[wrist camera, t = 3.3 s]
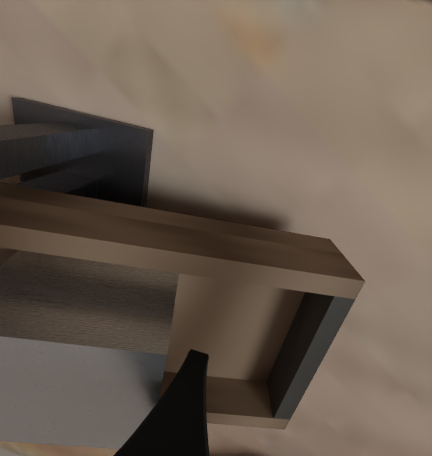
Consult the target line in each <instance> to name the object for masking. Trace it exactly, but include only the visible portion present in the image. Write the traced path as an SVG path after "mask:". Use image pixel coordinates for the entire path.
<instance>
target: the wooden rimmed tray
mask: <svg viewBox="0 0 432 456" xmlns="http://www.w3.org/2000/svg"><path fill="white" fill-rule="evenodd" d="M18 250H22V251H29V252H36V253H43V254H50V255H56V256H63V257H70V258H77V259H84V260H91V261H97V262H104V263H111V264H118V265H125V266H132V267H138V268H145V269H152V270H159V271H166V272H173V273H179V278H178V285H177V291H176V298H175V305H174V312H173V319H172V326H171V332H170V339H169V346H168V353H167V359H166V364H165V370H164V375H163V380H162V386H161V391H160V397H159V399H160V398H161V397H162V395H163V394H164V392H165V391H166V389H167V388H168V387H169V385H170V384H171V382H172V381H173V379H174V377H175V376H176V374H177V373H178V371H179V369H180V368H181V366H182V364H183V362H184V360H185V359H186V357H187V354H188V352H189V350H191V349H193V350H196V351H199V352H203V353H206V354H209V355H208V356H209V360H208V367H207V378H206V415H207V423H214V424H226V425H238V426H250V427H262V428H274V429H285V428H286V426H287V424H288V422H289V421H290V419H291V417H292V415H293V413H294V411H295V409H296V408H297V406H298V404H299V402H300V400H301V398H302V397H303V395H304V393H305V391H306V389H307V387H308V386H309V384H310V382H311V380H312V378H313V376H314V375H315V373H316V371H317V369H318V367H319V365H320V364H321V362H322V360H323V358H324V356H325V354H326V352H327V351H328V349H329V347H330V345H331V343H332V341H333V340H334V338H335V336H336V334H337V332H338V330H339V329H340V327H341V325H342V323H343V321H344V319H345V318H346V316H347V314H348V312H349V310H350V308H351V307H352V305H353V303H354V301H355V299H356V297H357V295H358V294H359V292H360V290H361V288H362V286H363V284H364V283H365V281H364V279H363V278H362V277H361V276H360V275H359V273H358V272H357V271H356V270H355V269H354V267H353V266H352V265H351V264H350V263H349V261H348V260H347V259H346V258H345V257H344V255H343V254H342V253H341V252H340V251H339V249H338V248H337V247H336V246H335V245H334V243H333V242H332V241H331V240H330V239H326V238H320V237H314V236H308V235H302V234H297V233H291V232H285V231H279V230H273V229H268V228H262V227H256V226H250V225H244V224H238V223H233V222H227V221H221V220H215V219H209V218H204V217H198V216H192V215H186V214H180V213H175V212H169V211H163V210H157V209H151V208H145V207H140V206H134V205H128V204H122V203H116V202H111V201H105V200H99V199H93V198H87V197H82V196H76V195H70V194H64V193H58V192H52V191H47V190H41V189H35V188H29V187H23V186H18V185H12V184H6V183H0V266H1V265H2V264H3V263H4V262H5V261H7V260H8V259H9V258H10V257H11V256H12V255H14V254H15V253H16V252H17V251H18Z"/></svg>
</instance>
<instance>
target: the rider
mask: <svg viewBox="0 0 432 456" xmlns="http://www.w3.org/2000/svg"><path fill="white" fill-rule="evenodd" d="M178 278H179V273H173V272H166V271H159V270H152V269H145V268H138V267H132V266H125V265H118V264H111V263H104V262H97V261H91V260H84V259H77V258H70V257H63V256H56V255H50V254H43V253H36V252H29V251H22V250H18V251H17V252H16V253H15V254H14V255H12V256H11V257H10V258H9V259H8V260H7V261H5V262H4V263H3V264H2V265H1V266H0V441H9V442H24V443H38V444H53V445H67V446H81V447H96V448H110V449H120V448H121V447H122V446H123V445H124V443H125V442H126V441H127V440H128V439H129V438H130V436H131V435H132V434H133V433H134V432H135V430H136V429H137V428H138V427H139V425H140V424H141V423H142V422H143V420H144V419H145V418H146V416H147V415H148V414H149V413H150V411H151V410H152V409H153V408H154V406H155V405H156V404H157V402H158V401H159V397H160V391H161V386H162V380H163V375H164V370H165V364H166V359H167V353H168V346H169V339H170V332H171V326H172V319H173V312H174V305H175V298H176V291H177V285H178Z"/></svg>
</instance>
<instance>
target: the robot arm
mask: <svg viewBox="0 0 432 456" xmlns="http://www.w3.org/2000/svg"><path fill="white" fill-rule="evenodd" d="M208 355H209V354H206V353H203V352H199V351H196V350H193V349H191V350H189V352H188V354H187V357H186V359H185V360H184V362H183V364H182V366H181V368H180V369H179V371H178V373H177V374H176V376H175V377H174V379H173V381H172V382H171V384H170V385H169V387H168V388H167V389H166V391H165V392H164V394H163V395H162V397H161V398H160V399H159V401H158V402H157V404H156V405H155V406H154V408H153V409H152V410H151V411H150V413H149V414H148V415H147V416H146V418H145V419H144V420H143V422H142V423H141V424H140V425H139V427H138V428H137V429H136V430H135V432H134V433H133V434H132V435H131V436H130V438H129V439H128V440H127V441H126V442H125V443H124V445H123V446H122V447H121V448H120V449H119V450H118V451H117V452H116V454H115V455H114V456H209V446H208V434H207V415H206V378H207V367H208V360H209V356H208Z"/></svg>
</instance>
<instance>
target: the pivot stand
mask: <svg viewBox="0 0 432 456" xmlns="http://www.w3.org/2000/svg"><path fill="white" fill-rule="evenodd" d="M12 103H13V112H14V121H15V125H4V126H0V179H2V178H6V177H10V176H13V175H17V174H20V176H21V183H19V184H16V185H18V186H23V187H29V188H35V189H41V190H47V191H52V192H58V193H64V194H70V195H76V196H82V197H87V198H93V199H99V200H105V201H111V202H116V203H122V204H128V205H134V206H140V207H145V208H146V200H147V190H148V180H149V170H150V160H151V150H152V140H153V130H152V129H148V128H144V127H140V126H136V125H131V124H127V123H123V122H119V121H115V120H111V119H107V118H103V117H98V116H94V115H90V114H86V113H82V112H78V111H74V110H70V109H66V108H61V107H57V106H53V105H49V104H45V103H41V102H37V101H33V100H28V99H24V98H12Z"/></svg>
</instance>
